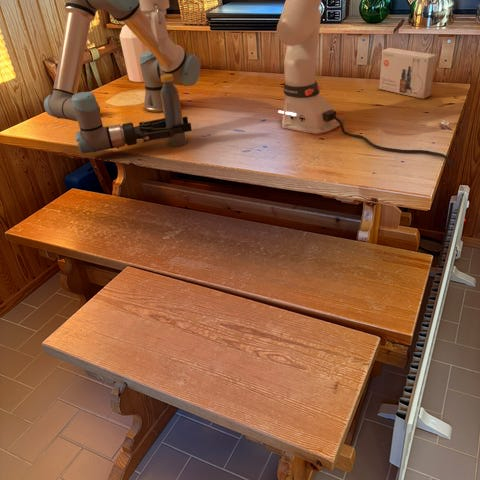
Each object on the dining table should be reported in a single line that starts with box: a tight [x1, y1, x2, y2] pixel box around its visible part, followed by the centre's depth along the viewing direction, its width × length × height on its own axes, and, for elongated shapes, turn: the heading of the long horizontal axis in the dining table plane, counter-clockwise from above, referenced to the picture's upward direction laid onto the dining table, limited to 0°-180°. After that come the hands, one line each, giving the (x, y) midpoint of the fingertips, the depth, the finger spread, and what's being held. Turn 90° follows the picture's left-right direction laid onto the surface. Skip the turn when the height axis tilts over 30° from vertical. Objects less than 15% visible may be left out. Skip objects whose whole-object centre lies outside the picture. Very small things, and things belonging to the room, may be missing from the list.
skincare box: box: [378, 47, 437, 100], centre depth 184 cm, size 21×6×16 cm, turn 40°
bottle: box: [160, 81, 187, 147], centre depth 159 cm, size 6×6×23 cm
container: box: [119, 23, 149, 83], centre depth 235 cm, size 21×21×28 cm
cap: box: [160, 74, 173, 82], centre depth 153 cm, size 4×4×2 cm
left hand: (189, 123), depth 163 cm, fingers closed on bottle, 6 cm apart
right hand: (162, 50), depth 148 cm, fingers open, 6 cm apart
